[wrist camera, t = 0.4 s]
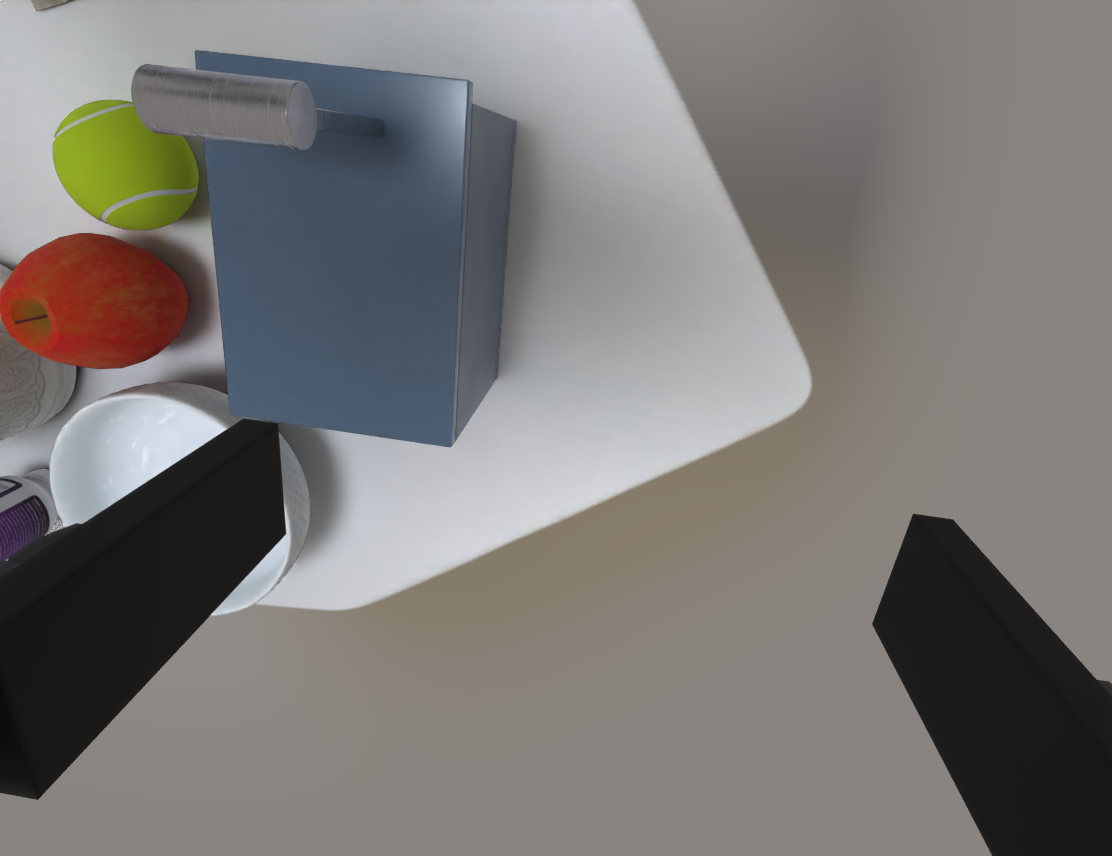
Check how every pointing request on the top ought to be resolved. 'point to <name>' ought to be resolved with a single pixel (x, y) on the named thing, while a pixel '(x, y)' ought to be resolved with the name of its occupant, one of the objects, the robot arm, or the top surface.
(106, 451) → the cereal bowl
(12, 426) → the jar
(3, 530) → the pill bottle
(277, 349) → the lid
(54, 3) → the condiment
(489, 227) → the blue-grey open box
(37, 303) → the apple
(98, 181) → the tennis ball
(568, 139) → the top surface
